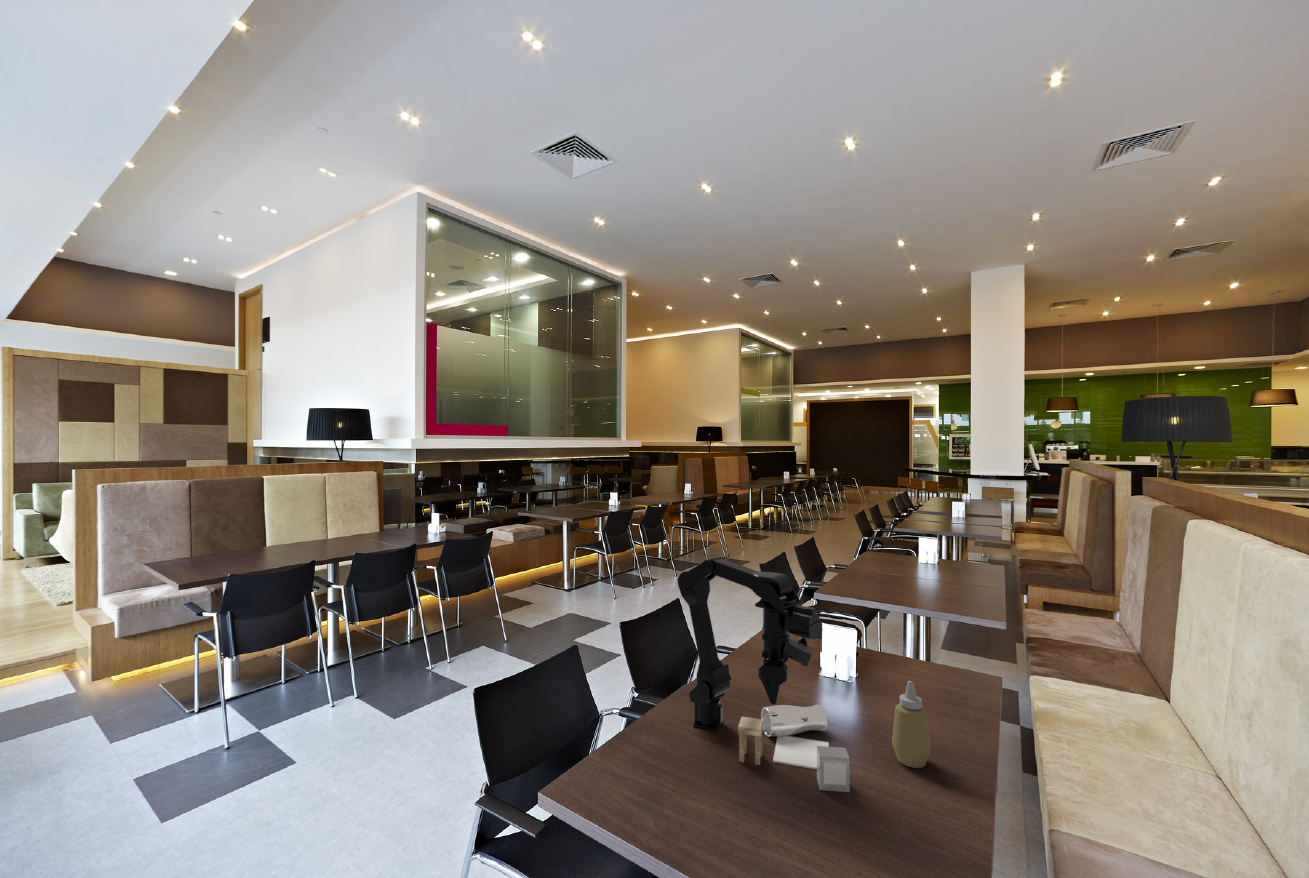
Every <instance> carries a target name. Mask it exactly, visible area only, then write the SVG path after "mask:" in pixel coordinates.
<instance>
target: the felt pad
mask: <svg viewBox="0 0 1309 878" xmlns="http://www.w3.org/2000/svg"><path fill="white" fill-rule="evenodd" d="M817 746H826V747H830V746H829V742H828V741H821V740H816V739H810V738H809V739H808V738H803V737H796V736H792V735H790V736H777V738H776V743H775V747H774V753H773V758H772V762H773V763H777V764H783V765H789V766H795V767H800V768H807V769H812V770H817Z"/></svg>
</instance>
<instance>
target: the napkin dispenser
mask: <svg viewBox="0 0 1309 878" xmlns="http://www.w3.org/2000/svg"><path fill="white" fill-rule="evenodd" d="M850 763H851V762H850V756H849V754H848V751H847V749H846V747H838V746H829V747H826V746H817V769H816V780H817V783H818V789H819V790H820V791H830V792H840V793H841V792H842V793H851V789H850V788H851V786H850V785H851V783H850V782H851V781H850V780H851V779H850V775H851V774H850V773H851V772H850V767H851V766H850V765H851V764H850Z"/></svg>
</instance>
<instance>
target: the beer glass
mask: <svg viewBox="0 0 1309 878" xmlns="http://www.w3.org/2000/svg"><path fill="white" fill-rule="evenodd" d="M760 719H762V720H763V728H762V731H763V732H764V734H765V735H766V736H767V737H768V738H769V737H777V736H794V735H797V734H798V735H799V734H802V733H804V732H808V731H817V732H818V731H819V732H825V731H827V728H828V716H827V712H826V710H825V708H824V707H823V705H821V704H815V705H811V706H797V705H789V704H778V705H776V704H775V705H771V706H770V705H769V706H764V707H763V708H762V709H761V716H760Z"/></svg>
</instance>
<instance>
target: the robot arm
mask: <svg viewBox="0 0 1309 878" xmlns="http://www.w3.org/2000/svg"><path fill="white" fill-rule="evenodd" d="M717 577H719V578H722V579H724V580H727V581H729V582H733V583H735V584H738V585H740V586H744V587H746V588H747V589H750V590H751V591H752V592H753V593H754V594H755V595H756V597H759V598H760V599H759V601H757V602H756V603H755V604H754V606H755V607H756V608H760V609H762V633H761V640H762V651H761V658H763V660H761V662H760V663H759V664H758V665H759V666H758V678H759V680H760V681H761V684H762V686H763V688H764V690H765V693H766V695H767V697H768V698H767V699H768V700H769V703H770V704H771V705H776V704H777V700H778V695H779V691H780V686H781V685H782V684H783V683H784V684H785V683H786V682H787V681H788V671H789V669H788V665H787V664H786V663H787V662H788V661H789V660H792V661H795V662H797V663H799V664H800V665H802V666H803V667H805V668H806V667H809V664H810V661H811V660H812V657H813V654H814V653H813V652H814V651H813V648H812V646H810V645H809V643H808V640H812V641H815V640H816V639H817V638H818V637H819V636H820V632H821V629H822V620H821V617H820V615H819V614H818V613H817V612H818V611H817V608H816V607H813V606H804V605H802V601H801V599H800V598H799V596H798V594H797V593H796V590H795V589H794V587H793V585H792V582H791V580H790V576H787V575H786V574H784V573H781V572H773V571H760V570H759V571H757V570H756V569H755V570H754V569H752V568H749V567H746V566H743V565H741V564H738V563H735V562H732V561H729V560H727V559H724V558H722V557H720V556H713V557H709V558H706V559H705V560H703V561H702V562H701V563H700V564H697V565H696V566H694V567H692V568H690V569H689V570H686V571H682V572H681V573H680V574H679V576H678V577H677V586H678V590H679V592H680V595H681V598H682V599H683V600H684V601H685V602H686V604H687V605H688V608H689V613H690V614H689V615H690V619H691V624H692V628H693V634H694V639H695V644H696V650H697V654H698V659H699V660H698V661H699V663H698V667H697V671H696V686H694V687H693V688H692V689H691V690H690V691H689V692H688V696H689V699H690V702H691V703H694V720H693V723H692V727H695V728H701V729H708V730H713V731H718V730H719V728H720V725H721V724H722V722H723V719H724V717H723V713H724V710H723V709H724V707H723V704H722V703H721V700H722V699H721V698H724V697H725V695H726V692H728V691H729V688H731V681H732V677H731V674H730V668H729V665H728V663H723V662H722V661H721V659H719V655H718V651H717V650H718V649H717V645H716V640H715V634H714V630H713V626H712V625H713V624H712V620H711V615H710V609H709V605H708V599H709V596H710V593H711V592H710V591H711V584H710V582H711V581H712V580H713V579H715V578H717ZM784 599H786V600H784ZM782 600H783V601H782ZM790 635H794V636H798V637H799V638H797V639H796V638H794V639H792V638H790Z"/></svg>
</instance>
